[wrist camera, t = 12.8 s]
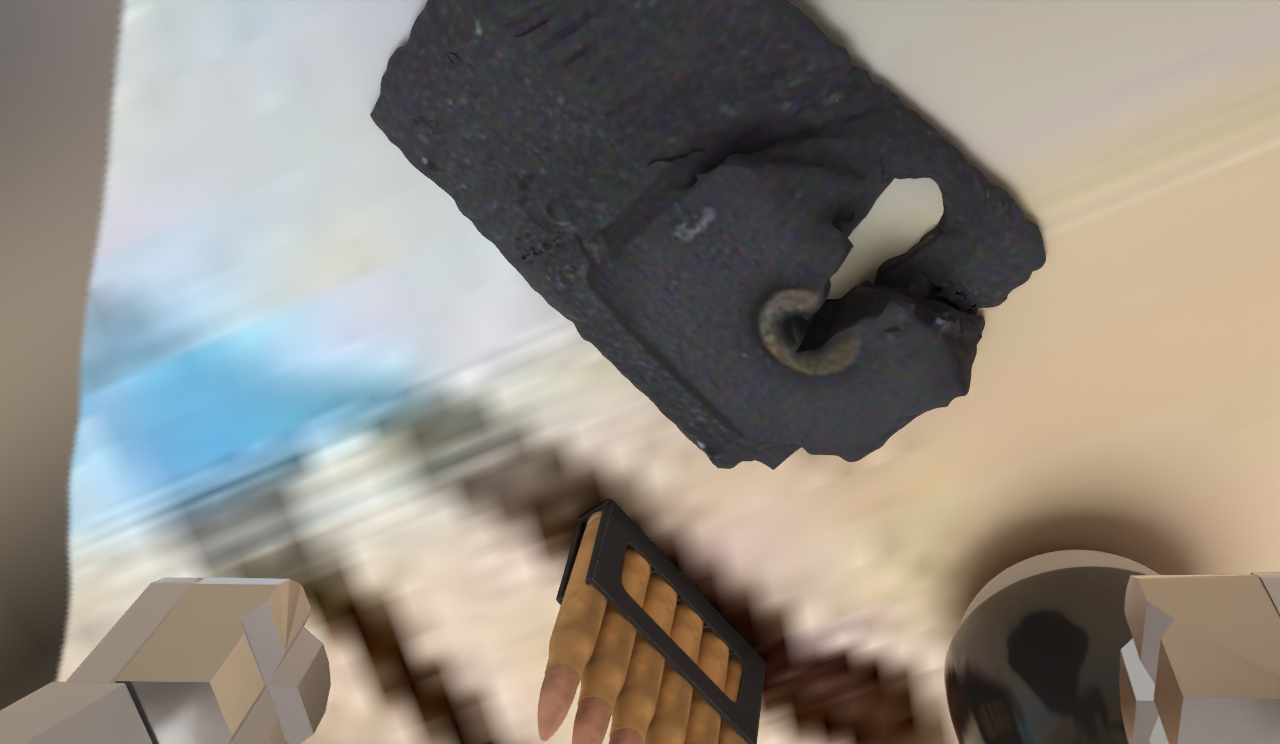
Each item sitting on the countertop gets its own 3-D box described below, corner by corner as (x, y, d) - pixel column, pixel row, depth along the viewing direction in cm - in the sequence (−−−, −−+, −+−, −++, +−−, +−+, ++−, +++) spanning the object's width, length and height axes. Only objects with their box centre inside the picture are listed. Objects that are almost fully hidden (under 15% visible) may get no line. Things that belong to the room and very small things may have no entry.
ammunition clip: (577, 517, 46) (504, 732, 36) (610, 496, 46) (545, 710, 35) (733, 681, 49) (707, 922, 39) (766, 664, 49) (749, 906, 38)
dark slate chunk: (638, -240, 33) (612, -243, 29) (1076, 266, 39) (1106, 324, 35) (341, 103, 40) (285, 140, 36) (752, 496, 45) (745, 568, 41)
